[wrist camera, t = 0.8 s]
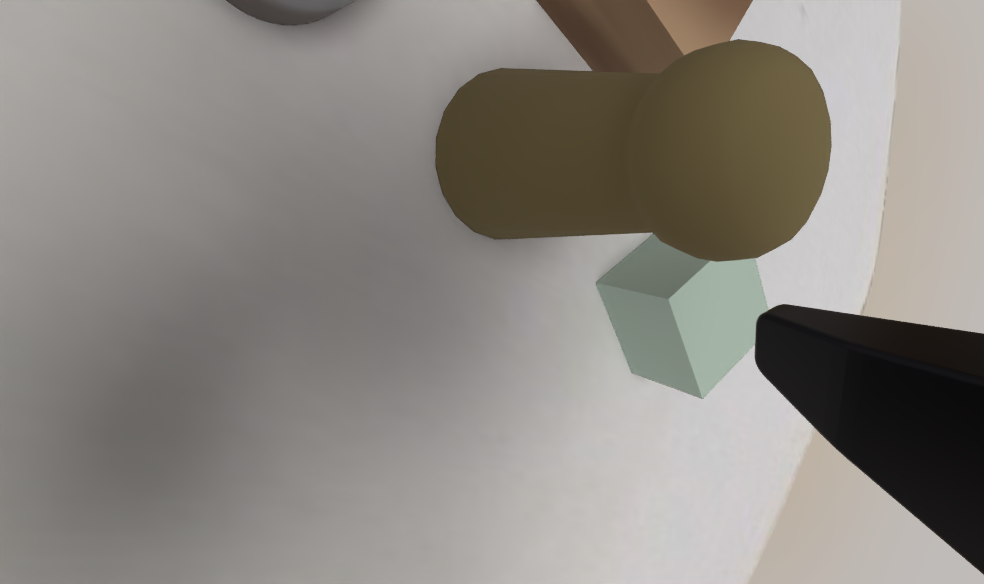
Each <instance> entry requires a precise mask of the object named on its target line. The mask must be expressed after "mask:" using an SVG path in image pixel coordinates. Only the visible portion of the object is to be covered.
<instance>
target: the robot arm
mask: <svg viewBox="0 0 984 584" xmlns="http://www.w3.org/2000/svg"><path fill="white" fill-rule="evenodd" d="M755 361H756V364H757V367H758V369H759V370H760V372H761V373H762V374H763V375H764V376H765V377H766V378H767V379H768V380H769V381H770V382H771V383H772V384H773V386H774V387H775V388H776V389H777V390H778V391H779V392H780V393H781V394H782V395H783V396H784V397H785V398H786V399H787V400H788V401H789V402H790V403H791V404H792V405H793V406H794V407H795V408H796V409H797V410H798V411H799V412H800V413H801V414H802V415H803V416H804V417H805V418H806V419H807V420H808V421H809V422H810V423H811V424H812V425H813V426H814V428H815V429H816V430H817V431H819V433H820V434H821V435H823V437H824V438H826V440H827V441H829V442H830V443H831V444H832V445H833V446H834V447H835V448H836V449H837V450H838V451H839V452H841V454H843V455H844V456H845V457H846V458H847V459H848V460H849V461H851V462H852V463H853V464H854V465H855V466H857V467H858V468H859V469H860V470H861V471H862V472H864V473H865V474H866V475H867V476H868V477H870V478H871V479H872V480H873V481H874V482H875V483H876V484H878V485H879V486H880V487H881V488H882V489H884V490H885V491H886V492H887V493H888V494H889V495H891V496H892V497H893V498H894V499H895V500H896V501H898V502H899V503H900V504H901V505H902V506H904V507H905V508H906V509H907V510H908V511H909V512H911V513H912V514H913V515H914V516H915V517H917V518H918V519H919V520H920V521H921V522H922V523H924V524H925V525H926V526H927V527H928V528H930V529H931V530H932V531H933V532H934V533H935V534H936V535H938V536H939V537H940V538H941V539H943V540H944V541H945V542H946V543H947V544H949V545H950V546H951V547H952V548H953V549H954V550H955V551H957V552H958V553H959V554H960V555H961V556H962V557H964V558H965V559H966V560H967V561H968V562H970V563H971V564H972V565H973V566H974V567H975V568H977V569H978V570H979V571H980V572H981V573H983V574H984V334H982V333H975V332H968V331H961V330H955V329H948V328H942V327H935V326H928V325H921V324H915V323H908V322H901V321H895V320H887V319H881V318H874V317H868V316H861V315H854V314H848V313H841V312H834V311H828V310H821V309H814V308H807V307H801V306H794V305H787V304H782V305H778V306H776V307H774V308H772V309H770V310H768V311H766V312H764V313H762V314H761V315H760V316H759V317H758V319H757V321H756V333H755Z"/></svg>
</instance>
